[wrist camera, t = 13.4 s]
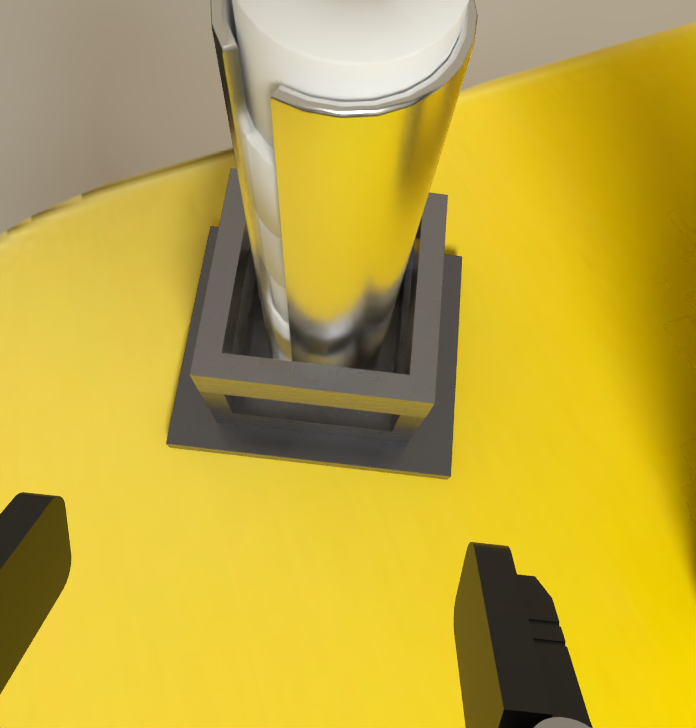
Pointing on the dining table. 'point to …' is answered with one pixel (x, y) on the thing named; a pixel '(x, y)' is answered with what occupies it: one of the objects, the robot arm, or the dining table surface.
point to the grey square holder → (321, 367)
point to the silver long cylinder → (337, 155)
